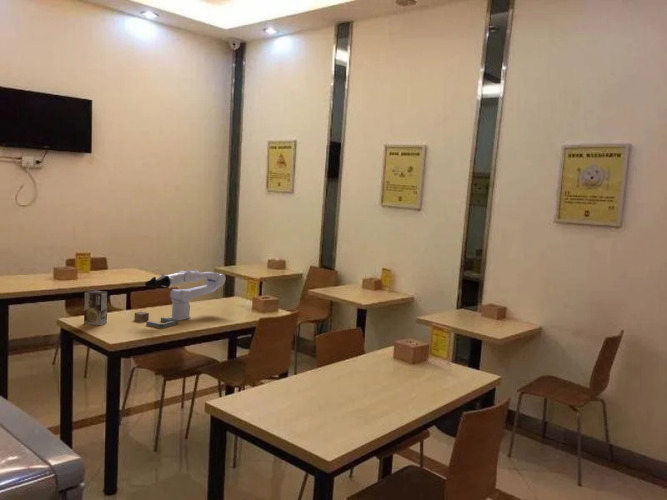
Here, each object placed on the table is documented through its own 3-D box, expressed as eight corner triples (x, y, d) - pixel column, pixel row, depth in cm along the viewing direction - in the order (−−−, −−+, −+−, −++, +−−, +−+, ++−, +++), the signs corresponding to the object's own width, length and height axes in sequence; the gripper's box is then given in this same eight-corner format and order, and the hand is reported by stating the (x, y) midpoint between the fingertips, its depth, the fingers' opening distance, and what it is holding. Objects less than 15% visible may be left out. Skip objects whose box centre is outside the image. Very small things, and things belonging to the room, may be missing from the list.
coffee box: (107, 322, 275) (108, 291, 274) (100, 325, 269) (102, 293, 267) (90, 320, 276) (91, 289, 274) (83, 323, 270) (84, 291, 268)
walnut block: (141, 318, 289) (141, 311, 289) (148, 320, 287) (148, 312, 287) (134, 320, 285) (134, 312, 284) (141, 322, 283) (141, 314, 282)
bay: (162, 320, 288) (162, 317, 288) (177, 324, 284) (177, 320, 284) (146, 325, 277) (146, 321, 277) (161, 328, 273) (161, 324, 273)
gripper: (161, 273, 292) (140, 277, 281) (179, 271, 284) (158, 275, 273) (163, 285, 292) (142, 290, 281) (181, 284, 285) (161, 289, 273)
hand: (150, 284), depth 277 cm, fingers open, 7 cm apart
